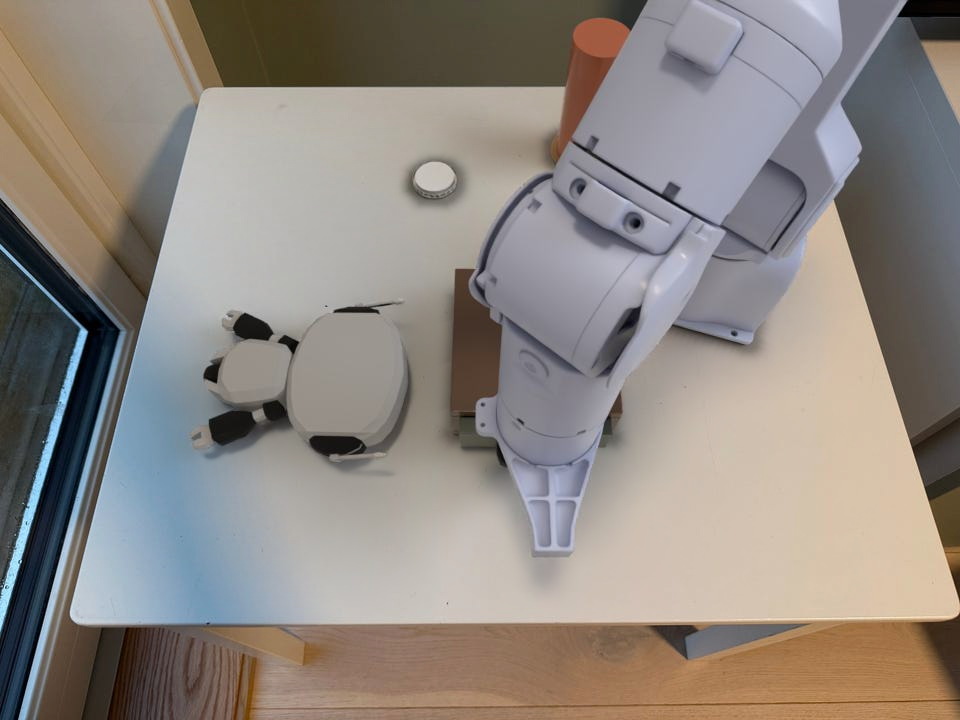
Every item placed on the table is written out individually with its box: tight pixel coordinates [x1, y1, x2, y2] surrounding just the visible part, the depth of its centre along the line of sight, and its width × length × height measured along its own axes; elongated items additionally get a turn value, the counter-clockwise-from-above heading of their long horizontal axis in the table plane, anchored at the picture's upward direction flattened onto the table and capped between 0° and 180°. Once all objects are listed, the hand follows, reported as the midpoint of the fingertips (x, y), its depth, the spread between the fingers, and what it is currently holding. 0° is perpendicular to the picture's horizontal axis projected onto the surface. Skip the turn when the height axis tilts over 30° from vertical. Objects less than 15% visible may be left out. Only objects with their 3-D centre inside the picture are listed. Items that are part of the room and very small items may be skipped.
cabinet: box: [449, 268, 624, 436], centre depth 46 cm, size 12×12×5 cm
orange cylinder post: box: [556, 17, 631, 158], centre depth 52 cm, size 5×5×12 cm
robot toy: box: [189, 298, 409, 463], centre depth 45 cm, size 12×4×15 cm
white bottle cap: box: [411, 159, 458, 199], centre depth 56 cm, size 4×4×1 cm
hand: (534, 464), depth 42 cm, fingers closed
